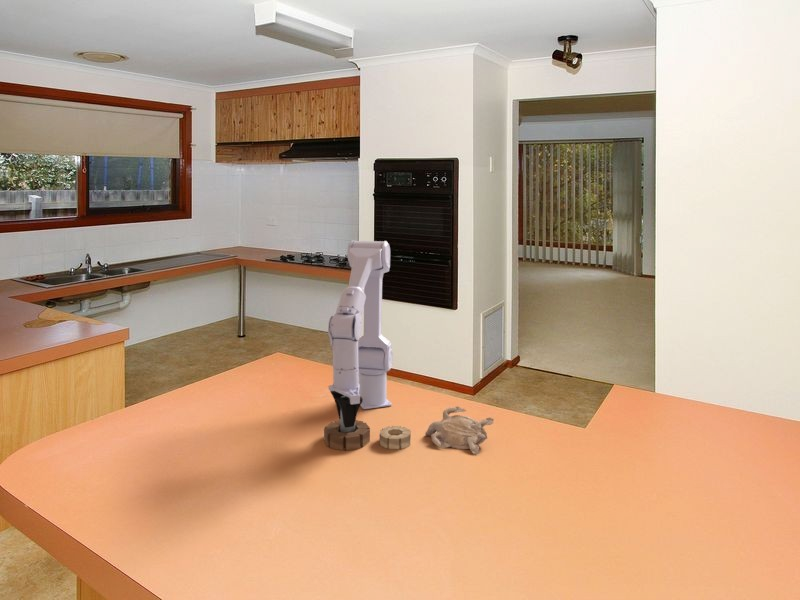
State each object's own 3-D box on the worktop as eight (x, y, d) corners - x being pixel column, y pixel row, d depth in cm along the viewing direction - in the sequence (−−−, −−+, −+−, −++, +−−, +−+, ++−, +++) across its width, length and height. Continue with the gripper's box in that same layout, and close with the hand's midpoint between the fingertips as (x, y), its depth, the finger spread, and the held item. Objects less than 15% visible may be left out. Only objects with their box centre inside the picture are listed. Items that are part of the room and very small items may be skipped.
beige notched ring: (373, 441, 138) (373, 431, 137) (396, 433, 142) (396, 423, 142) (393, 452, 133) (393, 441, 132) (416, 443, 137) (416, 432, 137)
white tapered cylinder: (338, 432, 139) (338, 396, 137) (352, 430, 141) (352, 394, 139) (343, 438, 136) (343, 401, 134) (357, 436, 138) (357, 399, 136)
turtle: (491, 451, 140) (492, 408, 142) (495, 455, 131) (496, 409, 133) (424, 447, 141) (426, 404, 143) (423, 451, 132) (425, 405, 134)
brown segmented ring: (320, 435, 141) (320, 423, 141) (361, 428, 145) (361, 417, 144) (331, 453, 132) (331, 440, 132) (374, 445, 136) (374, 433, 135)
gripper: (320, 359, 140) (322, 414, 143) (336, 378, 127) (338, 438, 130) (349, 356, 143) (350, 410, 145) (368, 374, 129) (369, 433, 132)
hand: (346, 423), depth 138 cm, fingers closed on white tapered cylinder, 3 cm apart
